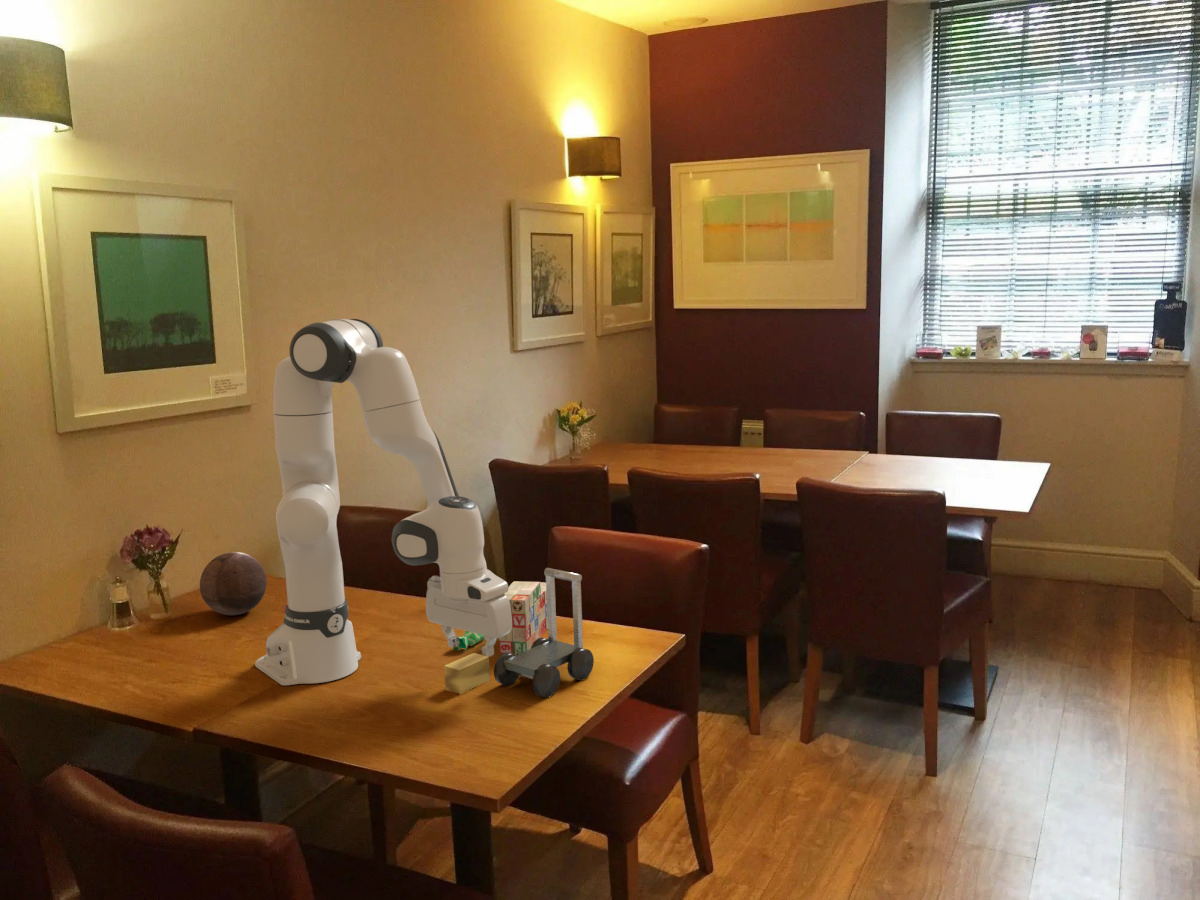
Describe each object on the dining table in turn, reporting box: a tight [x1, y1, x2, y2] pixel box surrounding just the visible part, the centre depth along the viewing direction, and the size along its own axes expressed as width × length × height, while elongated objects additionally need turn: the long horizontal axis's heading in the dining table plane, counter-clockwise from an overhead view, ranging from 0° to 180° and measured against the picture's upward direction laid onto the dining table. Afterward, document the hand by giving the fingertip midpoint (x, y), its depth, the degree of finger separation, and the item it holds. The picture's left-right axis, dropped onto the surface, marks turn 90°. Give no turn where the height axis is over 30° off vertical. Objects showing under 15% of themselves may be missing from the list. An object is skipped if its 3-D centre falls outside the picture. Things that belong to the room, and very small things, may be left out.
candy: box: [452, 631, 484, 651], centre depth 217 cm, size 12×3×4 cm
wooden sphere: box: [199, 551, 268, 616], centre depth 240 cm, size 15×15×15 cm
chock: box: [443, 652, 491, 695], centre depth 194 cm, size 4×8×5 cm, turn 142°
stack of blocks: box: [498, 580, 548, 655], centre depth 218 cm, size 21×6×12 cm, turn 168°
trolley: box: [493, 567, 595, 699], centre depth 193 cm, size 16×12×20 cm
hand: (470, 650), depth 193 cm, fingers open, 8 cm apart
